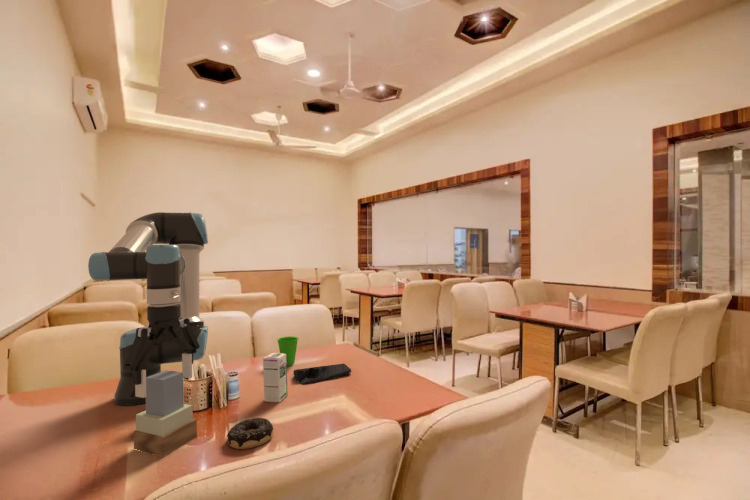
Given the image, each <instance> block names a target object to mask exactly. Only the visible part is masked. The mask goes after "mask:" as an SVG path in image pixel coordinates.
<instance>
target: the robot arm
mask: <svg viewBox="0 0 750 500" xmlns="http://www.w3.org/2000/svg"><path fill="white" fill-rule="evenodd" d="M208 243H209V239H208V230H207V225H206V220H205V217H204V215H203V214H202V213H197V212H196V213H195V212H160V211H159V212H152V213H148V214H145V215H142V216H140V217H138V218H137V219H134V220H133V221H131V222H130V224H128V226H126V228H125V234H124V235H123V236H122V237H121V238H120V239H119V240H118V242H117V243H115V245H114V246H113V247H112V248H111V249H110V250H109V251H108V252H107V251H106V252H105V251H102V252H94V253H92V254H91V255H90V256H89V259H88V266H87V267H88V273H89V276H90V278H91V279H92V280H94V281H107V282H110V281H124V280H127V281H128V280H146V305H148V306H147V308H146V319H147V321H148V325H147V326H142V327H137V328H134V329H131V330H127V331H125V332H124V333H122V334H121V336H120V338H119V339H120V340H119V347H118V348H119V363H120V365H119V367H120V368H119V369H120V371H119V373H120V375H119V377H120V378H119V380H118V384H117V386H116V387H117V388H116V390H115V392H114V396H113V397H114V400H113V401H115V402H114V403H115V404H116V403H117V404H116V405H118V404H120V405H119V406H135V405H141V404H146V377H149V376H152V375H154V374H157V373H160V372H162V369H161V367H162V366H161V365H162V364H163V365H164V364H172V363H173V364H174V363H175V364H176V363H181V365H182V366H181V368H182V371H181V372H183V378H186V379H192V378H193V364H194V361H197V360H202V359H203V357H204V356H205V354H206V350H207V343H208V335H209V326H208V325H205V322H204V320H203V319H202V318H201V316H200V253H201V252H202V251H203V250H204V249H205V245H207V244H208Z"/></svg>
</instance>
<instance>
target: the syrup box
mask: <svg viewBox="0 0 750 500" xmlns="http://www.w3.org/2000/svg"><path fill="white" fill-rule="evenodd" d="M262 369H263V401H264V402H266V403H267V402H269V403H281V402H282V401H283V400H284V399H285V398H286V397H288V366H287V362H286V354H285V353H280V352H271V353H270V354H268V355H266V356H265V357H263V358H262Z"/></svg>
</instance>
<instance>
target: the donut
mask: <svg viewBox="0 0 750 500" xmlns="http://www.w3.org/2000/svg"><path fill="white" fill-rule="evenodd" d="M273 436H274V426H273V424H272V423H271V422H270V420H269V419H267V418H263V417H254V418H253V417H252V418H247V419H243V420H241V421H240V422H238V423H236V424H235V425H233V426H232V427H231V428H229V430H228V432H227V434H226V437H227V440H226V441H227V443H228V445H229V446H230V448H234V449H236V450H246V449H247V450H248V449H252V448H255V447H259V446H261V445H262V446H263V444H264V445H265V443H268V441H270V440H271V439H272V438H273Z"/></svg>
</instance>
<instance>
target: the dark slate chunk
mask: <svg viewBox="0 0 750 500" xmlns="http://www.w3.org/2000/svg"><path fill="white" fill-rule="evenodd" d="M292 373H293V374H292V375H293V376H294V380H295V381H296V382H297V383H300V384H302V385H308V384H312V383H317V382H318V383H319V382H322V381H326V380H331V379H335V378H338V377H339V378H341V377H343V376H347V375H349V374H350V373H352V369H351V367H349V366H348V365H347V364H346V363H337V364H330V365H329V364H327V365H321V366H313V367H307V368H297V369H294V370H293V372H292Z"/></svg>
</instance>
